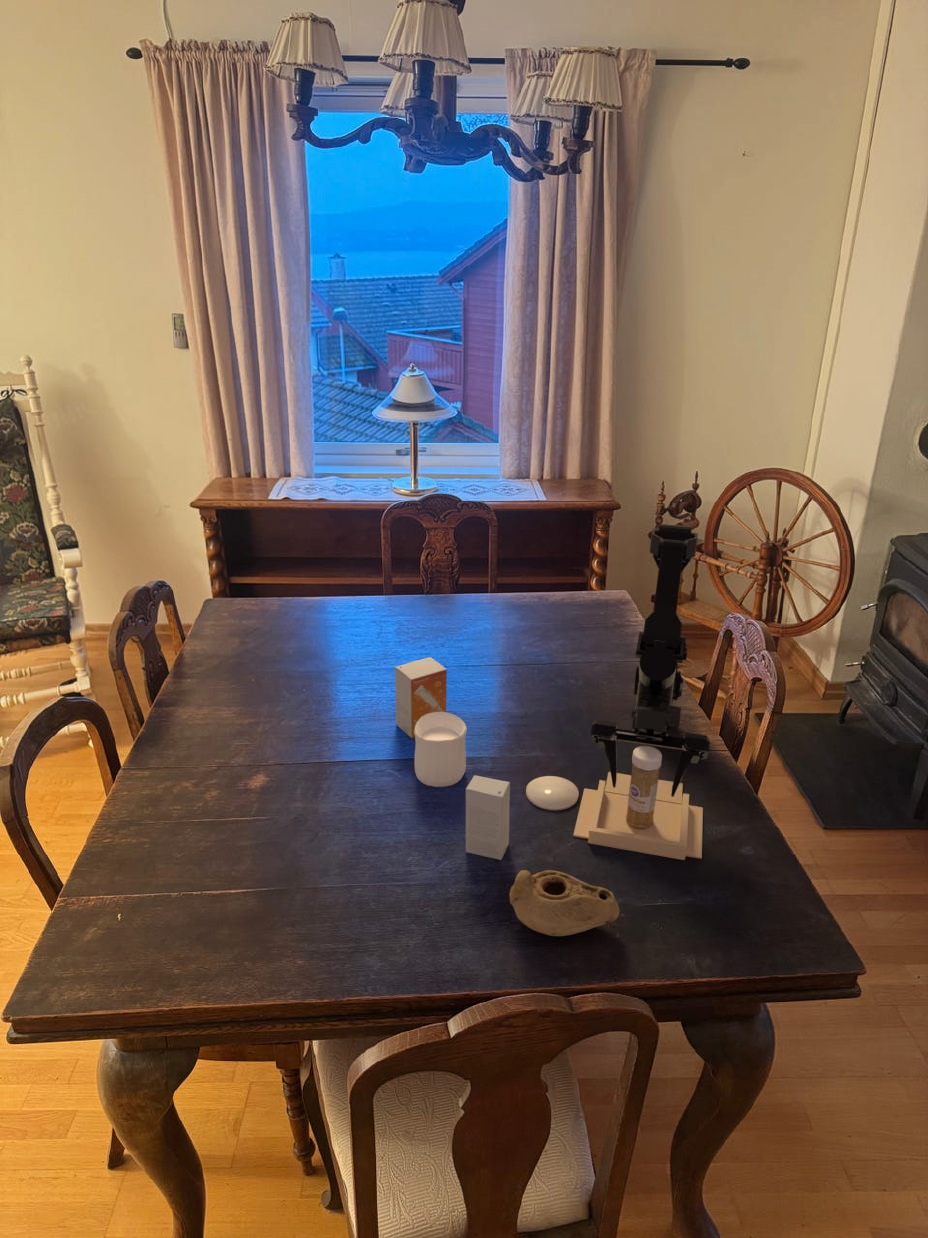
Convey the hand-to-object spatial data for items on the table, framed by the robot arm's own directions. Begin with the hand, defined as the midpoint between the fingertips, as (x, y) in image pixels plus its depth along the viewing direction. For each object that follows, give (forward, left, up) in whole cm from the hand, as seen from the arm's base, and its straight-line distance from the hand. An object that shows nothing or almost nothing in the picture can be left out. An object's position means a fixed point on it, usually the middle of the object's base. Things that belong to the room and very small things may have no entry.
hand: (643, 791), depth 135 cm
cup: (+25, -26, -7) cm, 37 cm away
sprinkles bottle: (-1, -1, -7) cm, 7 cm away
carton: (-2, -3, -7) cm, 8 cm away
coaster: (+9, -13, -7) cm, 17 cm away
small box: (+23, -42, -7) cm, 49 cm away
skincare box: (+25, -4, -7) cm, 27 cm away
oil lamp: (+21, +14, -7) cm, 27 cm away
